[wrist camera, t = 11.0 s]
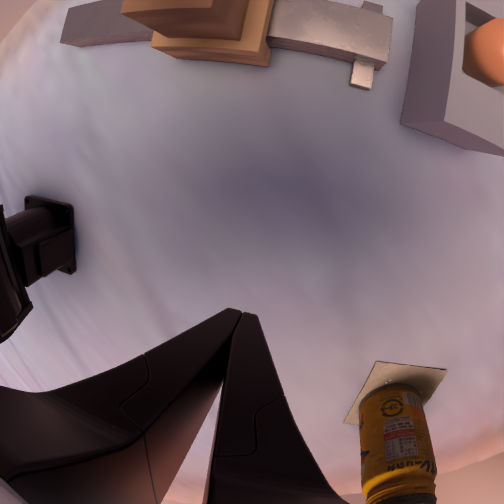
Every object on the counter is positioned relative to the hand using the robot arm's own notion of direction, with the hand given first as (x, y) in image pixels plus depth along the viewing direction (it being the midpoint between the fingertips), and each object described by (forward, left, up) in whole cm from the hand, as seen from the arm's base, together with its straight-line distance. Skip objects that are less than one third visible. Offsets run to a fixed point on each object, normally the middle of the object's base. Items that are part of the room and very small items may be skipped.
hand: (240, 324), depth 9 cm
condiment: (+14, -14, -13) cm, 24 cm away
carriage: (-6, +12, -12) cm, 18 cm away
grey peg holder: (+8, +12, -12) cm, 19 cm away
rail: (-7, +12, -12) cm, 19 cm away
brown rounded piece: (+8, +12, -7) cm, 16 cm away
